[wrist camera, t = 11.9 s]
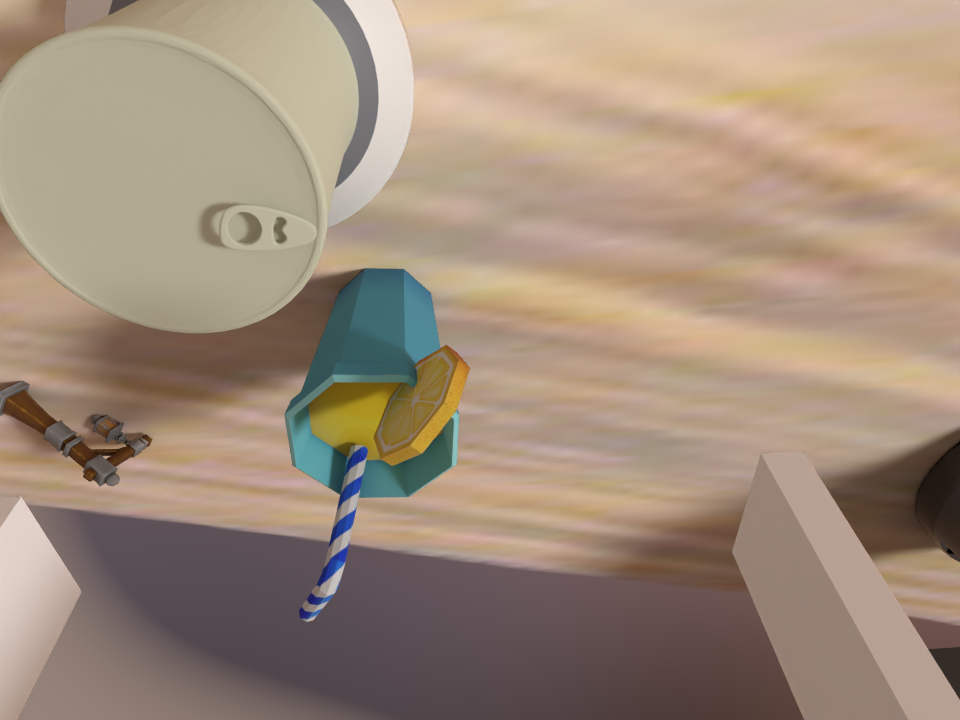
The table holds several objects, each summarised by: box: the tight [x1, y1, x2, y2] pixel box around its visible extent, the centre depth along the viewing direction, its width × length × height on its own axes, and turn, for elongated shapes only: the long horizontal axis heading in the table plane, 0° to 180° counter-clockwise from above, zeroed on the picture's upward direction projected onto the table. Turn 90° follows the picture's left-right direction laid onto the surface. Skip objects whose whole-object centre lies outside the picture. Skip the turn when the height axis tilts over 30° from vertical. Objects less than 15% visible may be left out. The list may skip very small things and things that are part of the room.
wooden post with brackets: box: [0, 381, 152, 486], centre depth 39 cm, size 2×8×4 cm, turn 58°
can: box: [0, 0, 359, 333], centre depth 23 cm, size 9×9×12 cm
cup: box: [285, 269, 470, 622], centre depth 31 cm, size 14×8×15 cm, turn 154°
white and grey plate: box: [64, 0, 414, 228], centre depth 29 cm, size 14×14×2 cm
